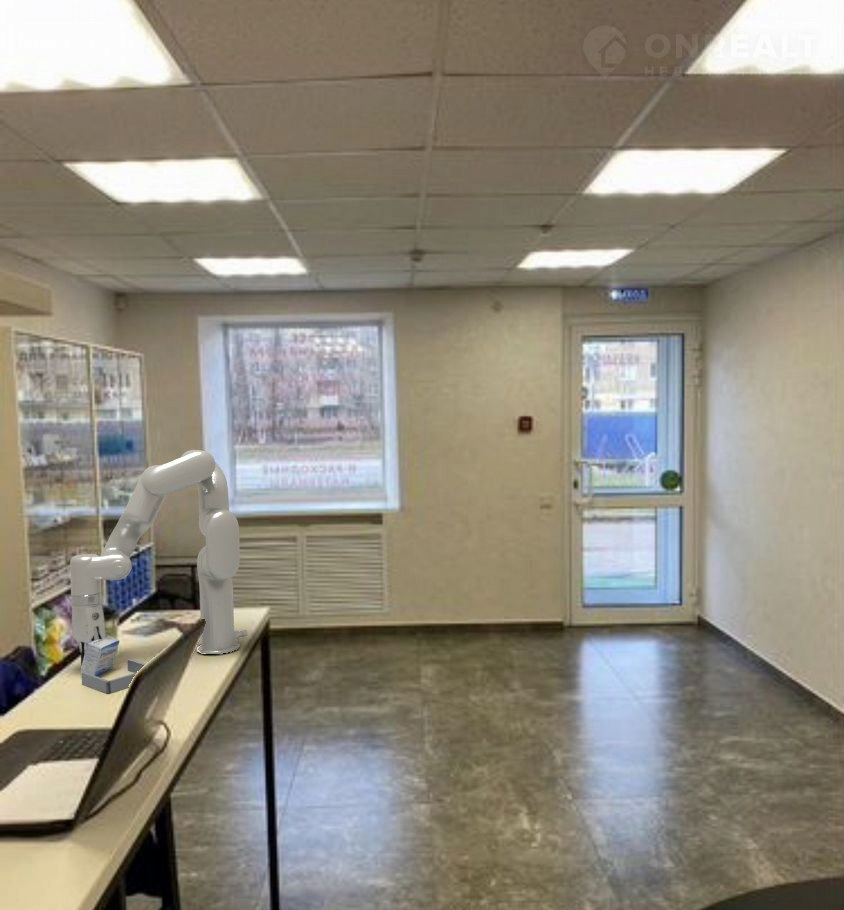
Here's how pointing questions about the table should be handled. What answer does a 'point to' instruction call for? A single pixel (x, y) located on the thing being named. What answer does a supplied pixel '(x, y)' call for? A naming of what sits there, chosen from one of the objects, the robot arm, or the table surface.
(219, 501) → the robot arm
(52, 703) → the table surface
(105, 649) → the medicine box
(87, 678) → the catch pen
